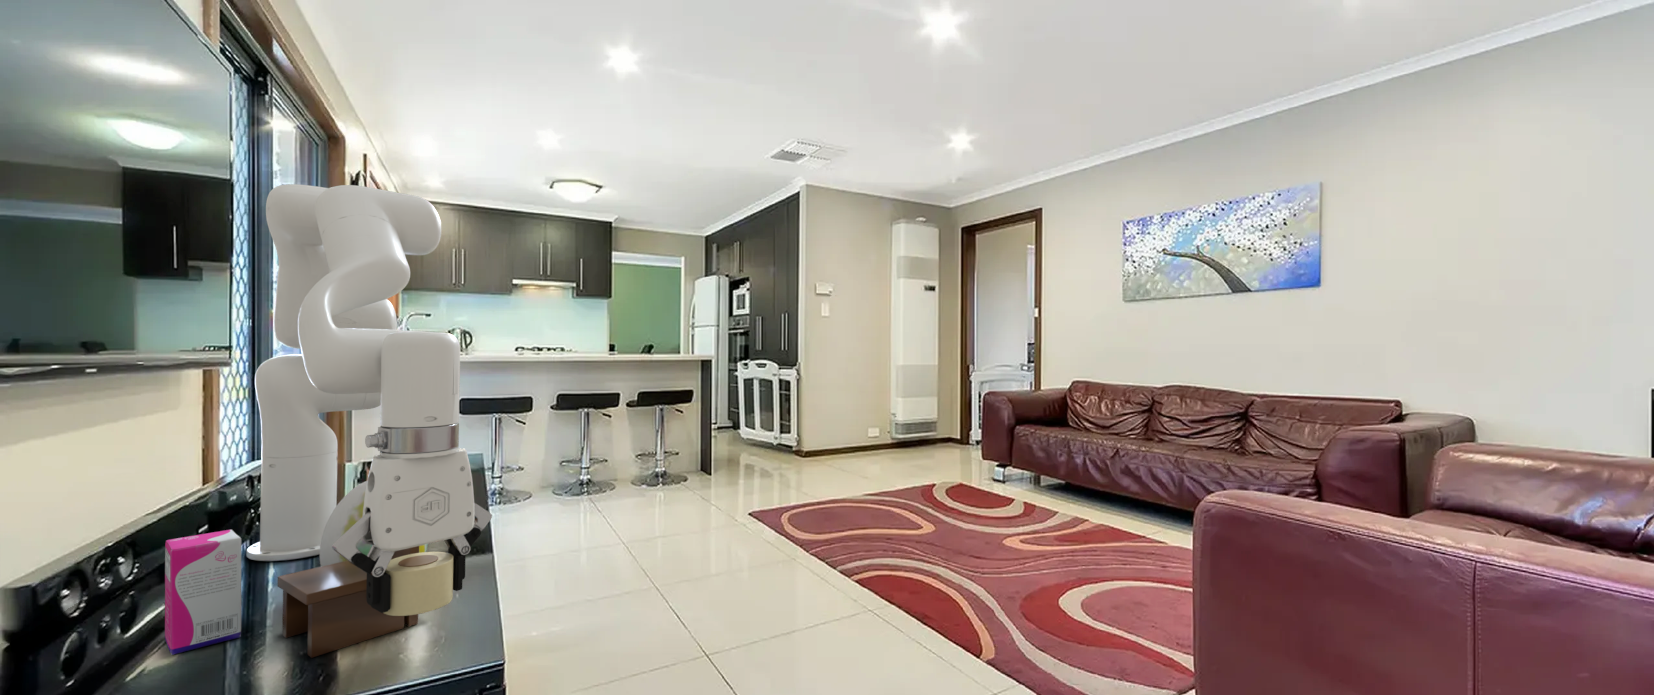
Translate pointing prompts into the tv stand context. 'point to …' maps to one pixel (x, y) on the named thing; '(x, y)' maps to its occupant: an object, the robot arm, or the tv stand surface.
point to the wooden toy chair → (335, 607)
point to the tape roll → (420, 583)
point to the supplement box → (202, 590)
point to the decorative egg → (345, 526)
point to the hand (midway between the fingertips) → (417, 596)
